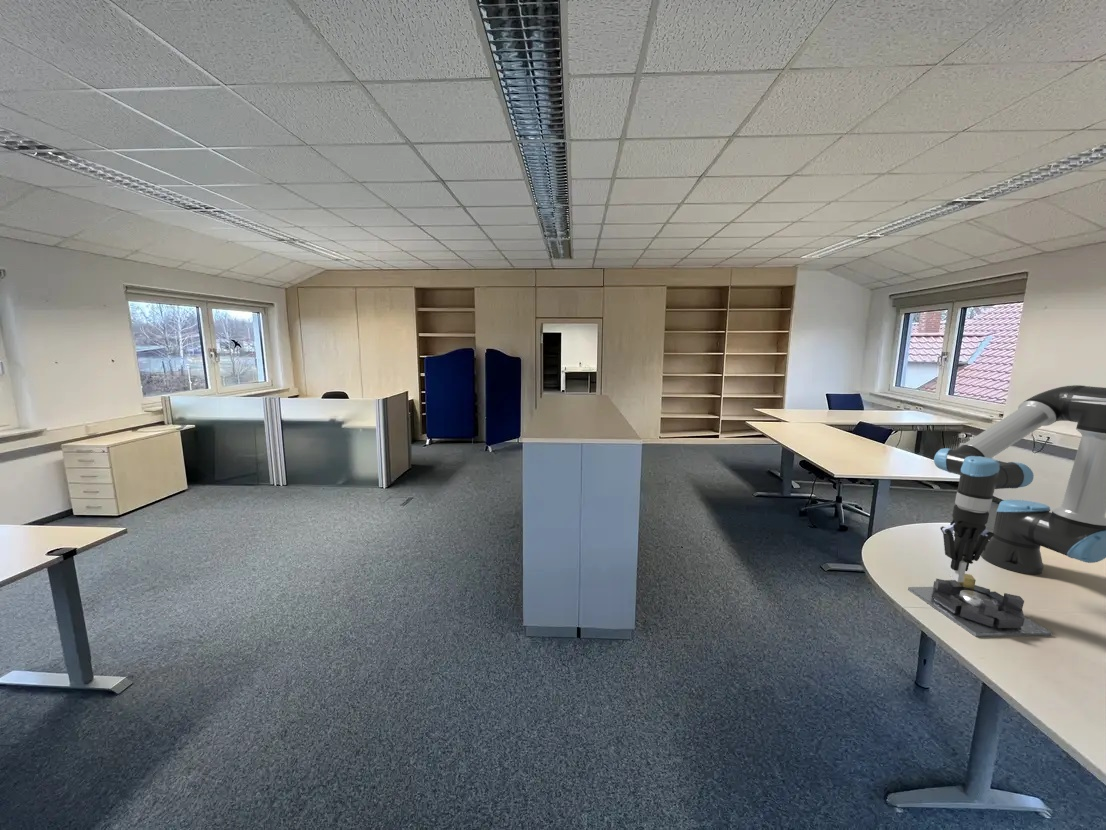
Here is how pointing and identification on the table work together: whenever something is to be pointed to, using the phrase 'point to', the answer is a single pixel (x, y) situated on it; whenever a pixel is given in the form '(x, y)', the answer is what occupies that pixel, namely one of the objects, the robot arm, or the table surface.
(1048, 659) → the table surface
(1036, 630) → the base plate
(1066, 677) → the table surface
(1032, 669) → the table surface
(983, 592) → the octagonal block ring
